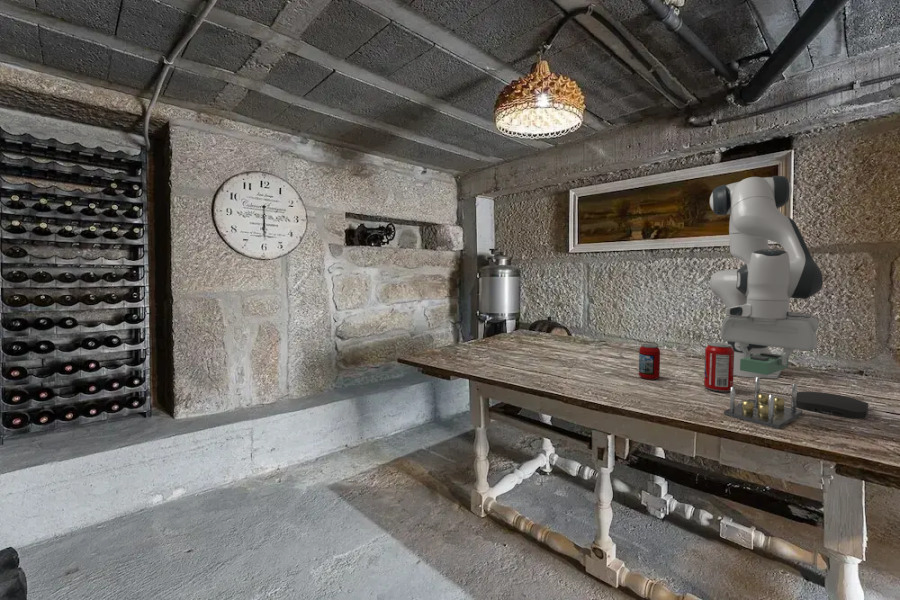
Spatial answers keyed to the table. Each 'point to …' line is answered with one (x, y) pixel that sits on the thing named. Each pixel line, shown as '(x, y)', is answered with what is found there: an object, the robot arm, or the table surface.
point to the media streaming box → (832, 404)
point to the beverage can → (649, 361)
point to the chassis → (764, 408)
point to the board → (762, 363)
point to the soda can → (719, 367)
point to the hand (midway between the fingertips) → (764, 362)
